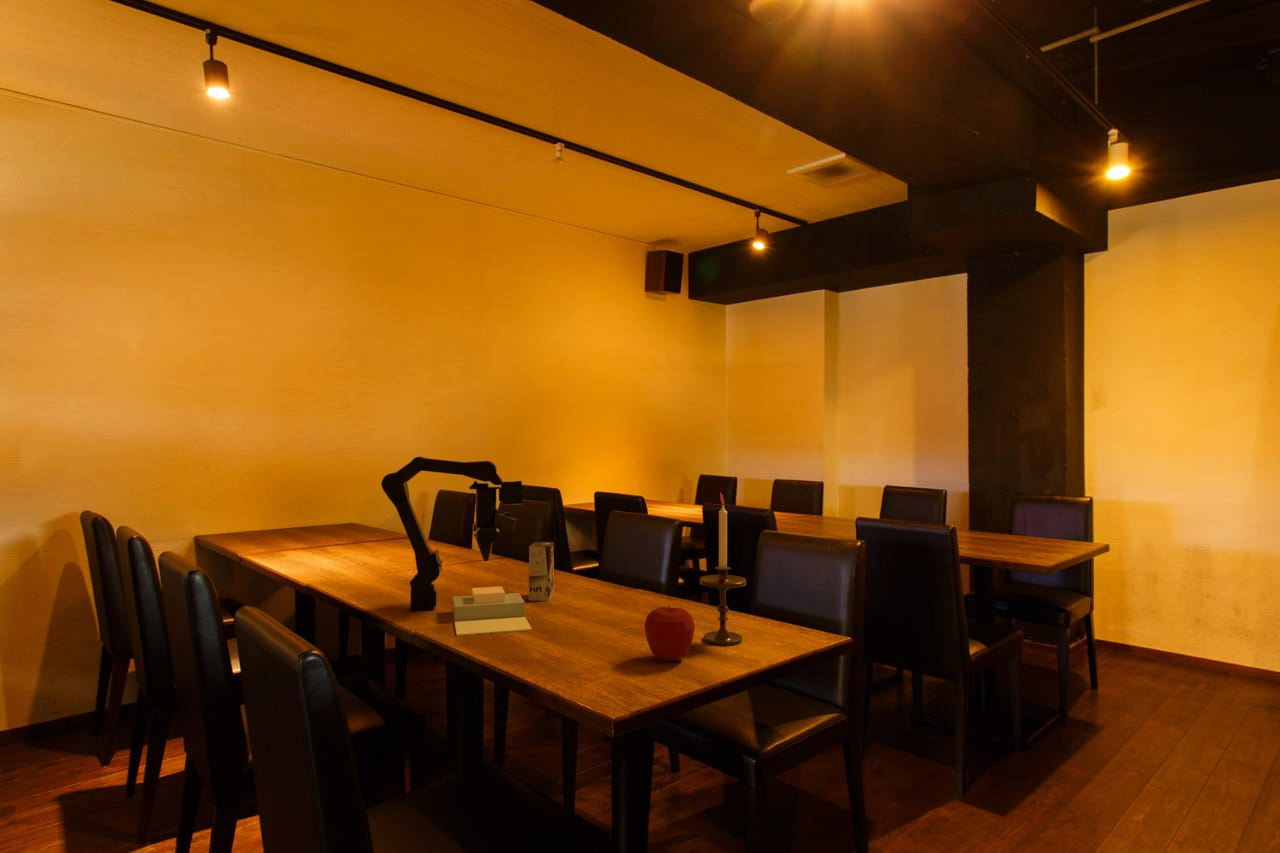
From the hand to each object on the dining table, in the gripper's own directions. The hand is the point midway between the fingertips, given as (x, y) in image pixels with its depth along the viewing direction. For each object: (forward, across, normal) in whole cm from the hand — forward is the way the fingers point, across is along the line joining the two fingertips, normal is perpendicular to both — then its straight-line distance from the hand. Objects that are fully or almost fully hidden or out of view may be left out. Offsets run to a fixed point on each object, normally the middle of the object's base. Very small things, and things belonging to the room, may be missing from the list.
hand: (485, 560), depth 196 cm
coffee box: (+13, +6, -17) cm, 22 cm away
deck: (+13, -10, 0) cm, 16 cm away
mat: (+13, -23, 0) cm, 26 cm away
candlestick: (+13, -50, -51) cm, 73 cm away
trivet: (+9, -10, 0) cm, 13 cm away
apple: (+13, -60, -34) cm, 70 cm away
